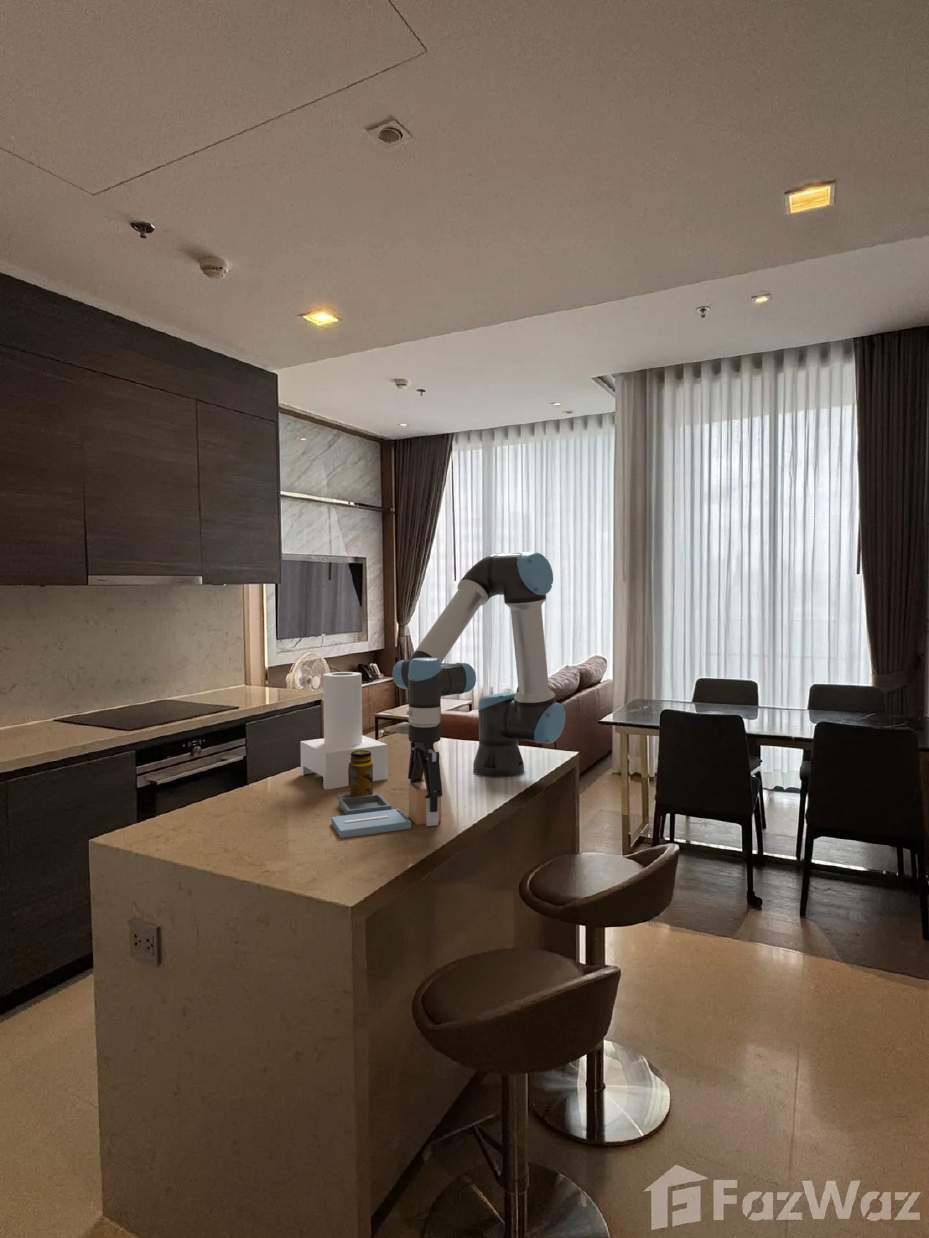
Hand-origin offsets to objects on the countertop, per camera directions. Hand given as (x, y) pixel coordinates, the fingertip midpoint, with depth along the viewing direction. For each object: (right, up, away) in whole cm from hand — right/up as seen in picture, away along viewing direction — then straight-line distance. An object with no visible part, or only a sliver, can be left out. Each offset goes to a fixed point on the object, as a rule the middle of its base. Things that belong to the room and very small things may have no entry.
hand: (424, 817), depth 162 cm
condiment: (-18, 0, +17) cm, 25 cm away
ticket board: (-12, 0, -5) cm, 13 cm away
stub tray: (-15, 0, +7) cm, 17 cm away
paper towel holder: (-26, +1, +38) cm, 46 cm away
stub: (0, 0, 0) cm, 0 cm away
